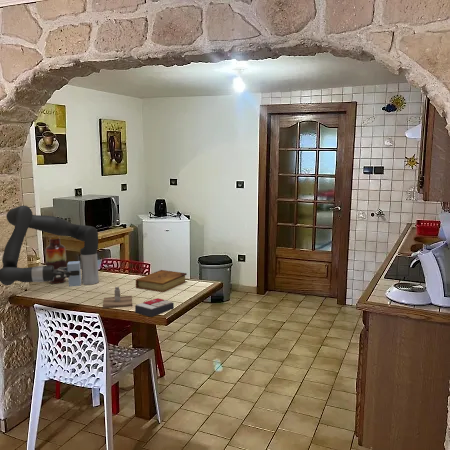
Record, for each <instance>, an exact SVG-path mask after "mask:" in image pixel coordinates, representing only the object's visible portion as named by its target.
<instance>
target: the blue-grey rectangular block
mask: <svg viewBox="0 0 450 450" xmlns="http://www.w3.org/2000/svg"><path fill="white" fill-rule="evenodd" d="M67 268H68V271H79V275H76V276H70V277H69V278H67V279H68V280H67V281H68V287H80V286H81V285H82V284H83V283H82V271H81V260H78V261H77V260H76V261H74V260H73V261H68V262H67Z"/></svg>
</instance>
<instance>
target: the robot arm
mask: <svg viewBox="0 0 450 450" xmlns="http://www.w3.org/2000/svg"><path fill="white" fill-rule="evenodd" d="M6 220H7V222H8V223H9V225H12V226H14V228H13V231H12V233H11V235H10V237H9V238H8V240H7V242H6V244H5V246H4V250H3V253H2V254H3V255H2V257H1V258H2V260H1V262H2V268H0V283H1V284H2V285H4V286H11V285H13V284H14V282H21V283H44V282H50V281H54V277H56V279H61V278H65V279H68V278H69V277H70V276H76V275H79V271H68V268H67V267H59V268H58V269H54V266H52V265H50V266H46V265H38V266H32V267H18V261H19V258H20V254H21V249H22V247H23V242H24V240H25V237H26V235H27V232H28V229H32V230H36V231H39V232H44V233H47V234H51V235H57V236H61V237H63V236H65V237H70V238H72V239H75V240H78V241H81V242H83V243H84V245H83V247H82V248H80V250H79V252H80V253H79V254H80V268H81V282H82V283H81V284H82V285H94V284H95V285H96V284H99V281H100V280H99V264H98V263H99V262H98V261H99V260H98V249H99V233H98V229H97V228H96V227H95V226H91V225H85V224H84V225H83V224H82V225H81V224H76V223H71V222H70V221H68V220H66V219H64V218H61V217H57V216H54V215H44V214H43V215H42V214H40V215H36V214H33V211H32V209H31V208H30V207H29V206H27V205H19V206H16V207H13V208H11V209H10V210H8V212H7V213H6Z"/></svg>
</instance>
